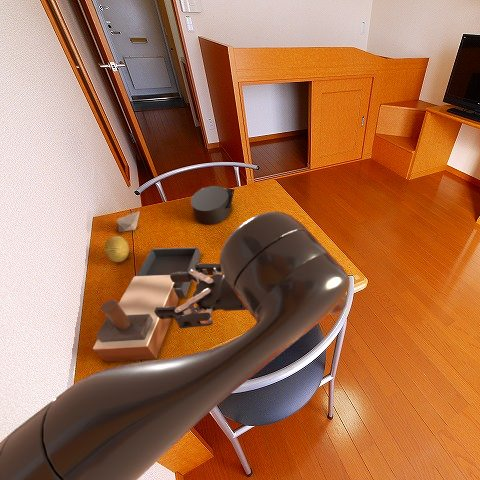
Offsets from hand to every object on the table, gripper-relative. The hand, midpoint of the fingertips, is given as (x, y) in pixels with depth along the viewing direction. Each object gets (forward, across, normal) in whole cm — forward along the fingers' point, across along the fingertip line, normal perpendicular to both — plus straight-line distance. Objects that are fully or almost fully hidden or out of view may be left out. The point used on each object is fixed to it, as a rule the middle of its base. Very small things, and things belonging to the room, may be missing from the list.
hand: (164, 294), depth 54 cm
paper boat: (+32, -47, +19) cm, 60 cm away
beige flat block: (+12, -7, +19) cm, 23 cm away
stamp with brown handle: (+12, 0, +13) cm, 18 cm away
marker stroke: (+10, -18, +17) cm, 26 cm away
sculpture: (+29, -31, +19) cm, 46 cm away
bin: (+12, -22, +19) cm, 32 cm away
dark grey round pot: (+6, -56, +19) cm, 60 cm away
